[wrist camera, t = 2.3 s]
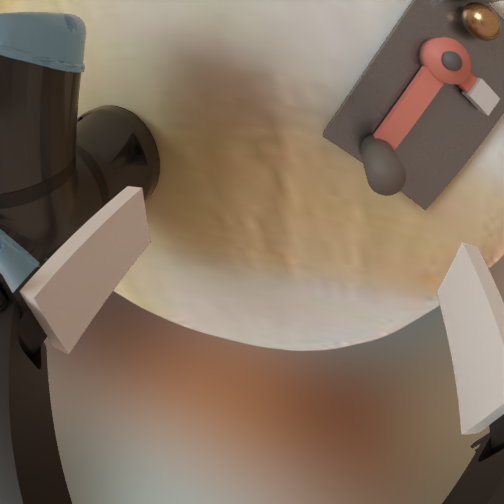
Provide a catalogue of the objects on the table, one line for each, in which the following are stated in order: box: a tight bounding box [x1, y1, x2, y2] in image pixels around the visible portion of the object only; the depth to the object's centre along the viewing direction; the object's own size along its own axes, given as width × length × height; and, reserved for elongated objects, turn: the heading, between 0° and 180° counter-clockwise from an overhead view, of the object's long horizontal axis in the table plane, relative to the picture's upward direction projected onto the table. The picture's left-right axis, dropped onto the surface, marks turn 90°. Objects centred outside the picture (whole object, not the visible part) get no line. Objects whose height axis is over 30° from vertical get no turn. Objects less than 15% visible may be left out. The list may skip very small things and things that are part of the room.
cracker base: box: [323, 0, 504, 210], centre depth 20 cm, size 26×14×6 cm, turn 153°
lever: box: [360, 37, 500, 196], centre depth 21 cm, size 16×9×7 cm, turn 153°
